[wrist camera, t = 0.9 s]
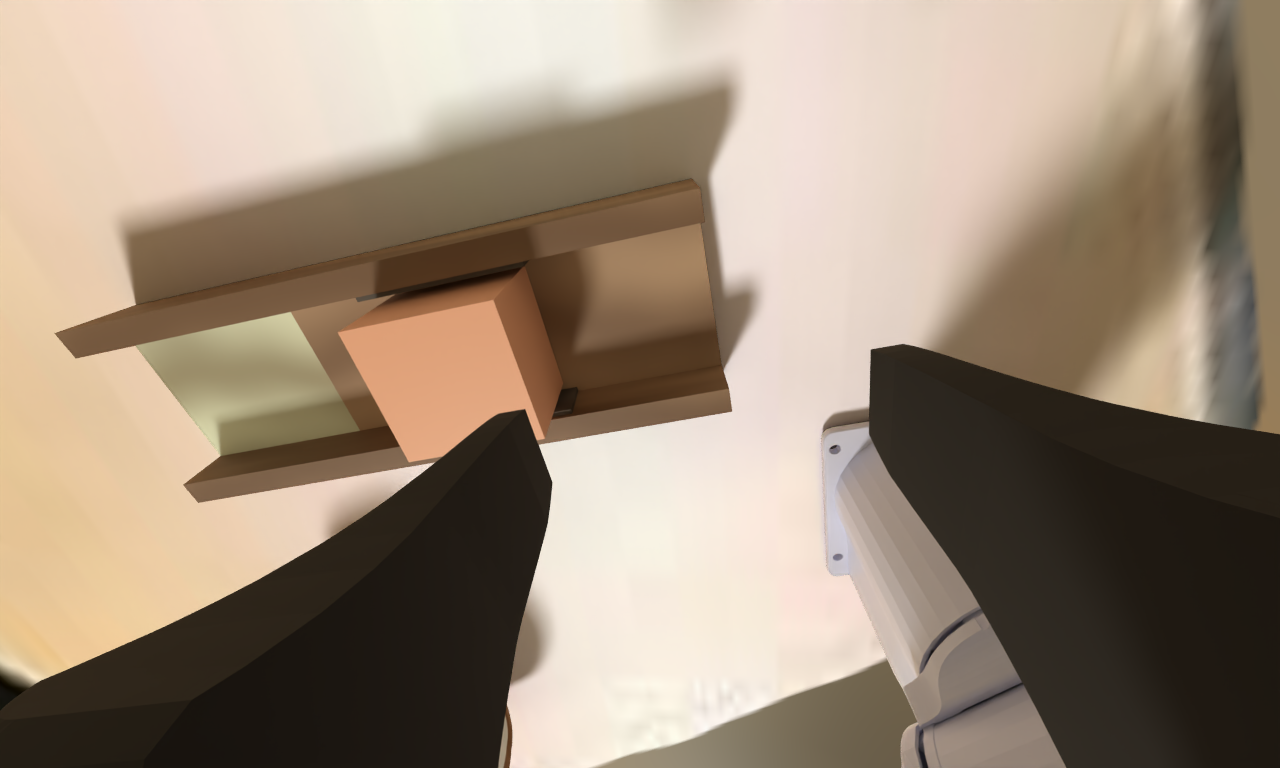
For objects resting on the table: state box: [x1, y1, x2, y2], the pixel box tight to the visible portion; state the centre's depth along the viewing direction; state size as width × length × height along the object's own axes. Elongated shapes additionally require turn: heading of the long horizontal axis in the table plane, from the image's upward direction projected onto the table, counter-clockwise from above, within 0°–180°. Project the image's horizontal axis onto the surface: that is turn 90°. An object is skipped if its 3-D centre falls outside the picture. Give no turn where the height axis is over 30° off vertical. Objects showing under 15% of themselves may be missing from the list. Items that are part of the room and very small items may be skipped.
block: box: [338, 266, 563, 462], centre depth 17 cm, size 5×5×4 cm
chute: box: [55, 179, 732, 503], centre depth 19 cm, size 8×23×3 cm, turn 102°
